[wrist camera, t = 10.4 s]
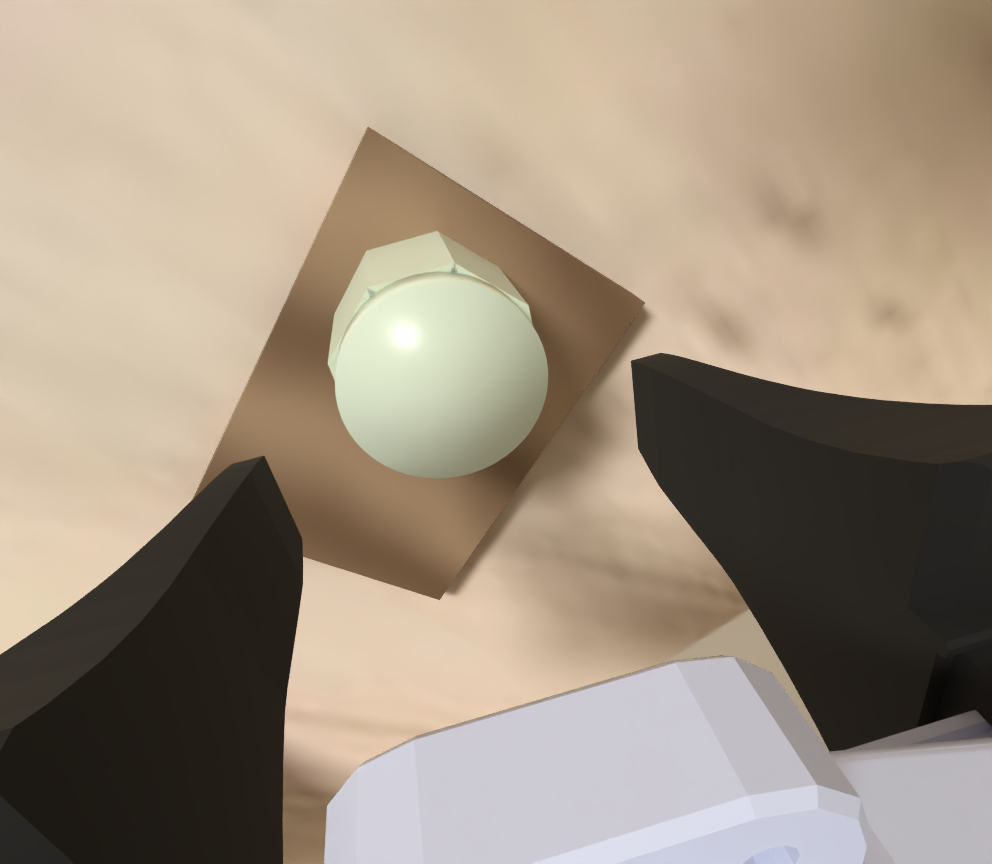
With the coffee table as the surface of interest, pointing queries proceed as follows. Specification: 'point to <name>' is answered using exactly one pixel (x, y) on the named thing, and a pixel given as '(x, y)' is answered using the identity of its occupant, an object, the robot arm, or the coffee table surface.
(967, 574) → the robot arm
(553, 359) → the post base
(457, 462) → the cap
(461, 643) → the coffee table surface
